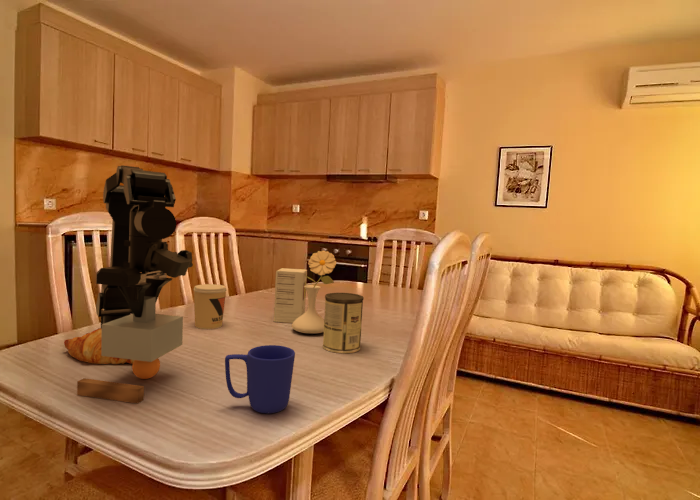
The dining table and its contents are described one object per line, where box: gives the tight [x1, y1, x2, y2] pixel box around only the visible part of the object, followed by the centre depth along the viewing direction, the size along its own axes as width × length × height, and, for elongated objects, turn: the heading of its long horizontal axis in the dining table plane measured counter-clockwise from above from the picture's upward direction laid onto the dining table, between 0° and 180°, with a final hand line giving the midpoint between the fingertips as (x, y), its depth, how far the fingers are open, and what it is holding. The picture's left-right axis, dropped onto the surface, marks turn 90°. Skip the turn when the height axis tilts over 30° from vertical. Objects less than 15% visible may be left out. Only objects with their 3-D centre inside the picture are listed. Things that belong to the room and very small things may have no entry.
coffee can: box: [322, 292, 364, 354], centre depth 109 cm, size 10×10×14 cm
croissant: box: [63, 327, 134, 365], centre depth 91 cm, size 21×10×8 cm, turn 77°
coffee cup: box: [193, 283, 227, 330], centre depth 123 cm, size 9×9×12 cm
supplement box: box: [273, 267, 308, 324], centre depth 136 cm, size 10×9×17 cm
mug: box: [224, 344, 296, 414], centre depth 72 cm, size 8×12×10 cm
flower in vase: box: [291, 250, 337, 335], centre depth 122 cm, size 13×11×25 cm
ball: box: [131, 358, 161, 380], centre depth 82 cm, size 5×5×5 cm
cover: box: [101, 296, 184, 362], centre depth 80 cm, size 10×10×10 cm
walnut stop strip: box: [76, 377, 145, 404], centre depth 72 cm, size 12×2×2 cm, turn 81°
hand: (143, 315), depth 80 cm, fingers closed on cover, 3 cm apart
